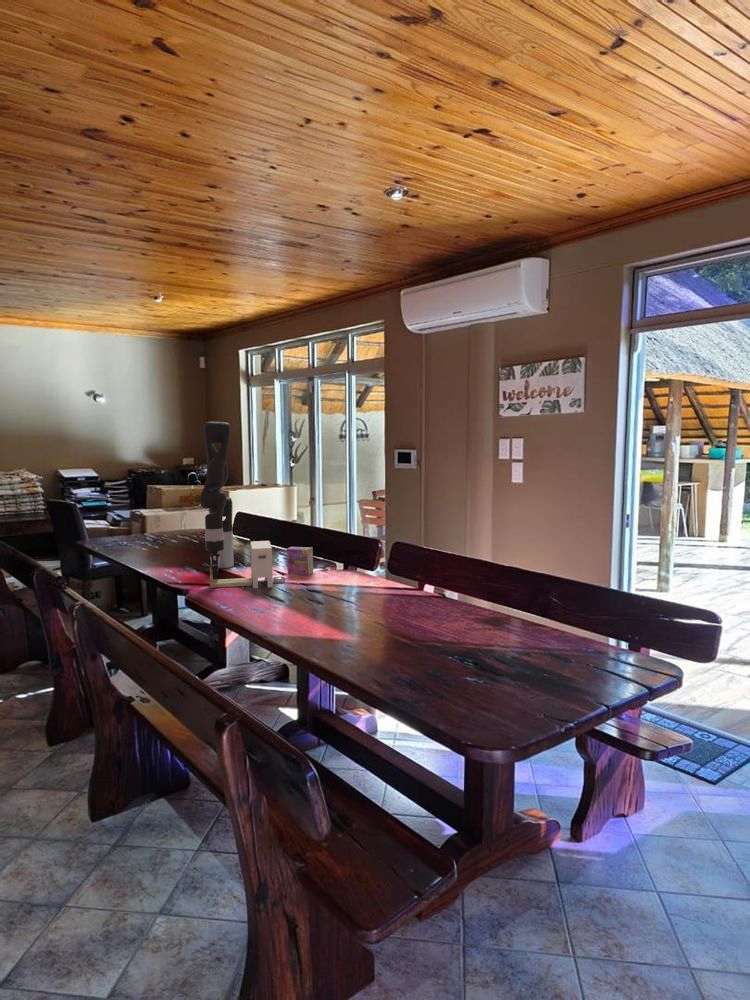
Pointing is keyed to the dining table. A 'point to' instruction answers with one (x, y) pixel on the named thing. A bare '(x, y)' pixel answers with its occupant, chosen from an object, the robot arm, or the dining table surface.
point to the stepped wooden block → (229, 581)
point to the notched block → (261, 562)
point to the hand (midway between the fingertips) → (215, 577)
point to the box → (300, 560)
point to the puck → (279, 579)
